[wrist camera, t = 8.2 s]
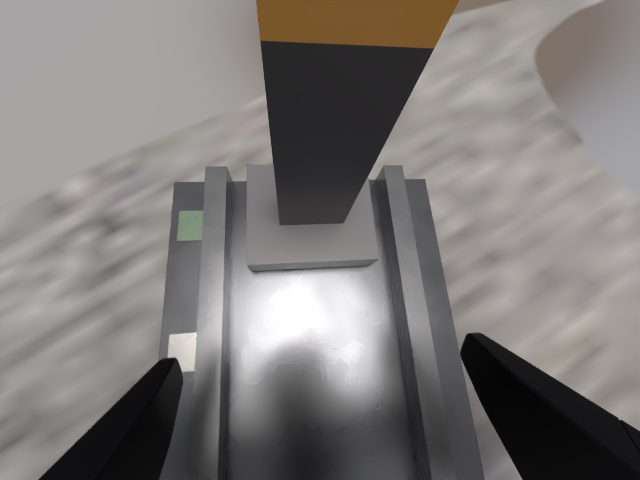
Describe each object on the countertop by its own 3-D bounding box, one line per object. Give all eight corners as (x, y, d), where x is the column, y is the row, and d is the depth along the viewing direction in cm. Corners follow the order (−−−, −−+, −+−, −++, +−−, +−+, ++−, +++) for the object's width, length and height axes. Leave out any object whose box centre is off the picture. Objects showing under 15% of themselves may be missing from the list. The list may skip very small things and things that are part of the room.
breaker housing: (459, 465, 14) (511, 508, 11) (165, 506, 12) (119, 572, 9) (411, 194, 18) (437, 165, 15) (187, 198, 17) (162, 166, 13)
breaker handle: (370, 265, 14) (607, 85, 4) (250, 271, 14) (105, 70, 3) (360, 177, 16) (506, -135, 5) (250, 179, 15) (154, -180, 4)
